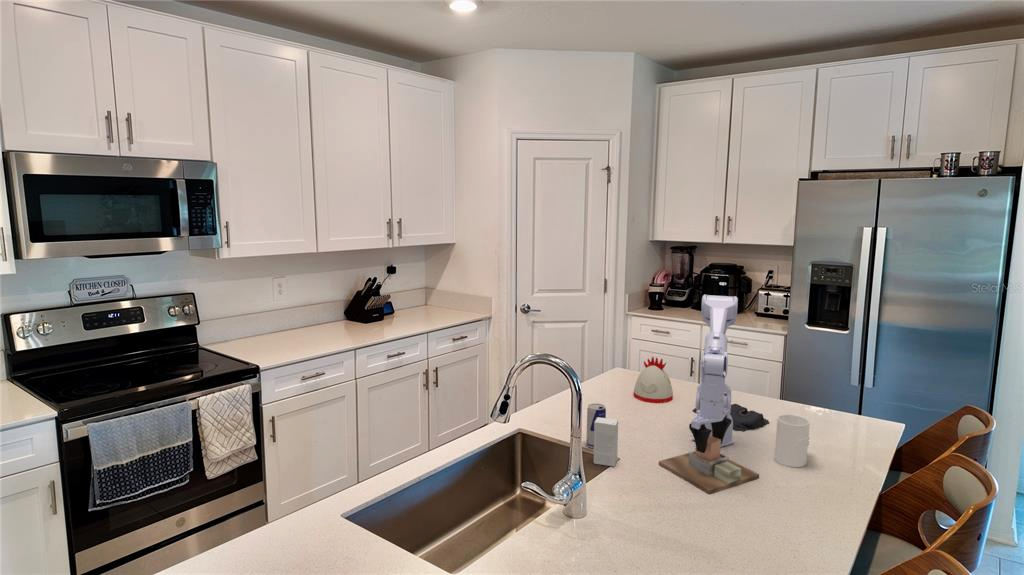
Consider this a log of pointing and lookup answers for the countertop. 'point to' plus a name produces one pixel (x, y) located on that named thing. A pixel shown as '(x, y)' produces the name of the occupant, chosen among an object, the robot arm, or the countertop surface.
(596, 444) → the skincare box
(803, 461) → the mug
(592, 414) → the energy drink
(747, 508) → the countertop surface
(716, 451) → the terracotta block
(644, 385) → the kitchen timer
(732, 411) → the dark slate chunk
